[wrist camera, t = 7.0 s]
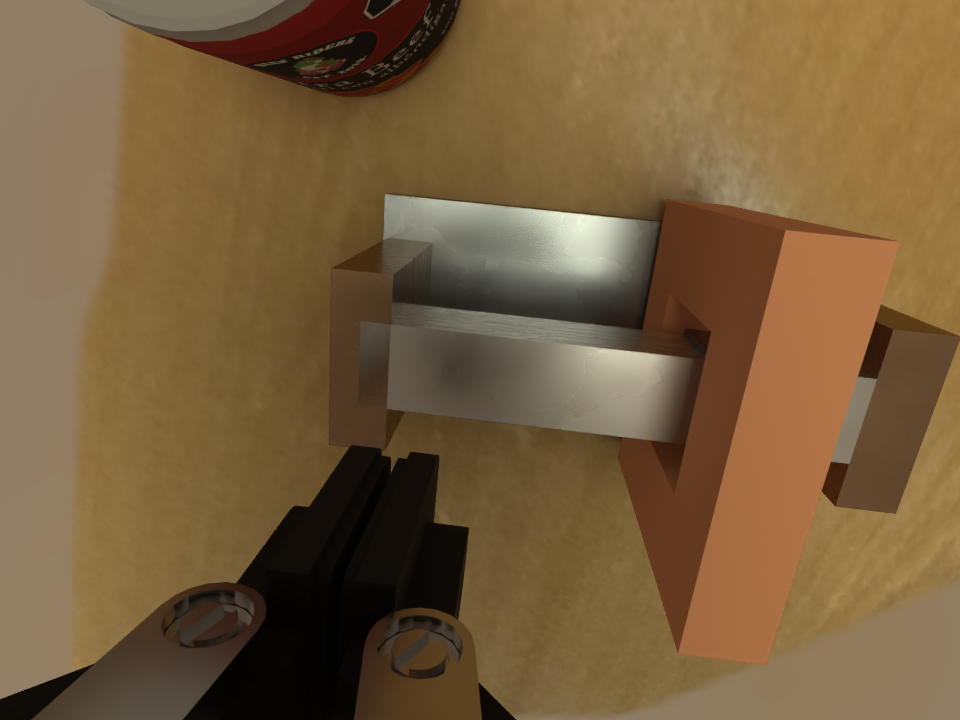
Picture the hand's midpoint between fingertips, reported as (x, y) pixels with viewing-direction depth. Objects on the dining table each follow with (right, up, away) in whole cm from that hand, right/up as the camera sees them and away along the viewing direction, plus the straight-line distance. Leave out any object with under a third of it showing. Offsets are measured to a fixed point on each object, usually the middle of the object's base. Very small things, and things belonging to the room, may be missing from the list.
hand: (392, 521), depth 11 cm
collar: (+8, +4, +10) cm, 14 cm away
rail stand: (+6, +4, +11) cm, 13 cm away
